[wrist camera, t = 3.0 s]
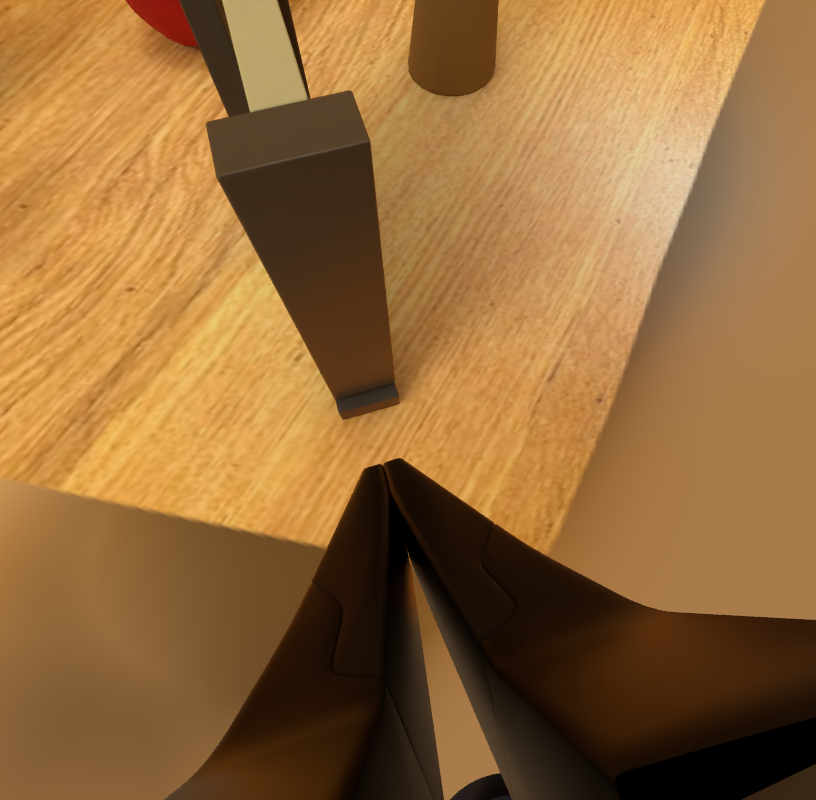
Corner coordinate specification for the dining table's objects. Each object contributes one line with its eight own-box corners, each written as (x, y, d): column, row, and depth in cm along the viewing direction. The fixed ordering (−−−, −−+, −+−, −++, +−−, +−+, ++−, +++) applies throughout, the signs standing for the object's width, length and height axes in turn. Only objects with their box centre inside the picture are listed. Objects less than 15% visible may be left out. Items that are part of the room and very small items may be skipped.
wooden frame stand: (399, 403, 22) (377, 140, 8) (333, 423, 21) (178, 186, 7) (323, 158, 27) (225, -268, 13) (269, 171, 27) (107, -251, 13)
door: (395, 382, 21) (370, 141, 8) (335, 400, 20) (215, 177, 8) (347, 228, 23) (275, -121, 11) (293, 241, 23) (160, -100, 11)
